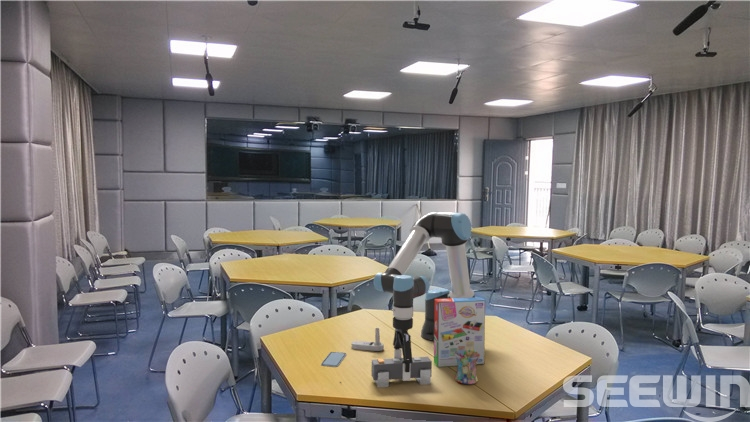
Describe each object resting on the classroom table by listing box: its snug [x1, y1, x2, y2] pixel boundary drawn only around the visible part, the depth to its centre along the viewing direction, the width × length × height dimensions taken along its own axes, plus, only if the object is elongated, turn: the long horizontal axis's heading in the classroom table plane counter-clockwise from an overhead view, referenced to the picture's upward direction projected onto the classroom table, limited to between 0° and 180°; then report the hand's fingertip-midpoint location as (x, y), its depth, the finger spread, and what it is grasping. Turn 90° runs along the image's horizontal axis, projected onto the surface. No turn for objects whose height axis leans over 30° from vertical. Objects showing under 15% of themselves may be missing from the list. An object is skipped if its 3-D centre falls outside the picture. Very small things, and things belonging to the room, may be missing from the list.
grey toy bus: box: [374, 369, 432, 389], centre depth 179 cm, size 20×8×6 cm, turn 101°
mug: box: [454, 350, 480, 385], centre depth 179 cm, size 12×9×11 cm
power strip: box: [371, 356, 433, 382], centre depth 179 cm, size 22×5×7 cm, turn 101°
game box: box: [433, 296, 486, 368], centre depth 198 cm, size 21×6×27 cm, turn 100°
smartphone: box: [320, 351, 347, 368], centre depth 201 cm, size 7×1×15 cm
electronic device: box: [351, 327, 385, 352], centre depth 215 cm, size 5×10×15 cm
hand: (401, 372), depth 179 cm, fingers open, 13 cm apart
